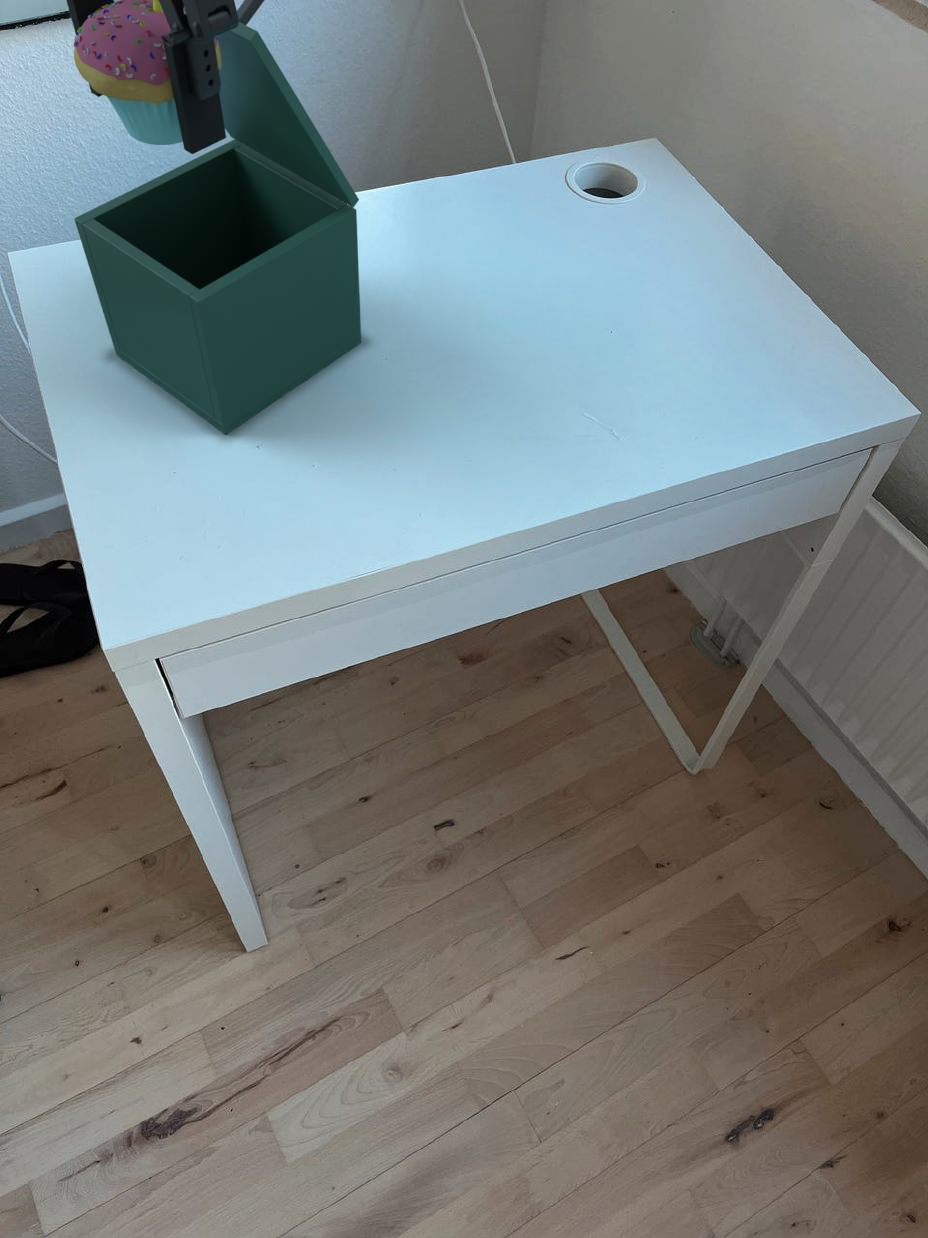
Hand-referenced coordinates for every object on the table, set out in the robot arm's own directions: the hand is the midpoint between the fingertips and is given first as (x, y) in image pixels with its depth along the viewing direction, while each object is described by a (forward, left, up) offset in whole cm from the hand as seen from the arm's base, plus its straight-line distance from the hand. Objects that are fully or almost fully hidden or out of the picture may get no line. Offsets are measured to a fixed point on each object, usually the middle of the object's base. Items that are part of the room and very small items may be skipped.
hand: (157, 114), depth 60 cm
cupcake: (0, 0, -1) cm, 1 cm away
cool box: (+6, +3, -24) cm, 25 cm away
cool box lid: (+9, +3, -3) cm, 10 cm away
